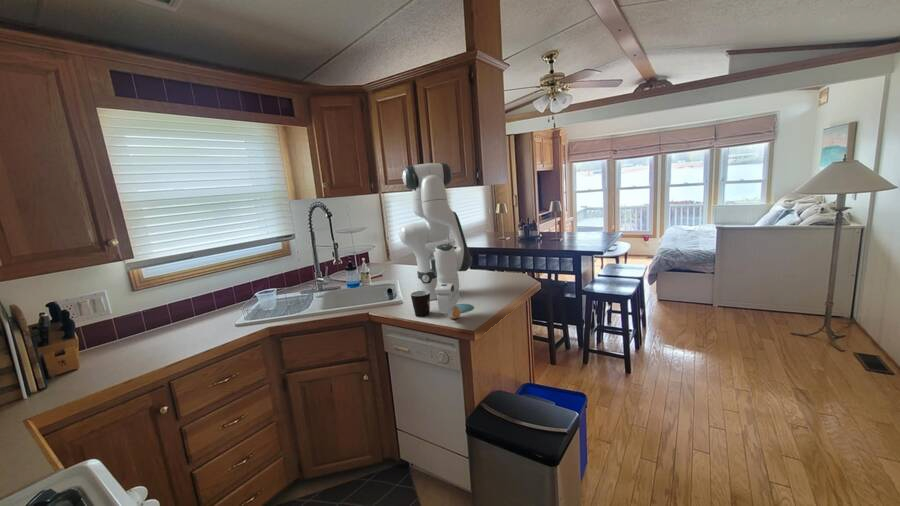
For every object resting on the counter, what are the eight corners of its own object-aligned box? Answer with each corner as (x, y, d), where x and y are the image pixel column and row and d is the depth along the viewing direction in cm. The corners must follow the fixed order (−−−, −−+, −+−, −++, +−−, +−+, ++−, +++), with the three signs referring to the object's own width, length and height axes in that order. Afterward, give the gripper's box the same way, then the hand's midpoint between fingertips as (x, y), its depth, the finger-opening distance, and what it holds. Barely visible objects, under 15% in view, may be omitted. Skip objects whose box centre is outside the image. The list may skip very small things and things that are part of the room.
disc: (451, 304, 175) (451, 303, 175) (475, 304, 172) (475, 303, 172) (444, 312, 163) (444, 312, 163) (470, 312, 160) (470, 312, 160)
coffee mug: (423, 319, 158) (421, 296, 156) (408, 316, 163) (406, 294, 161) (440, 310, 167) (438, 289, 165) (425, 308, 172) (423, 288, 170)
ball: (447, 321, 155) (449, 311, 159) (460, 321, 154) (461, 312, 158) (445, 312, 151) (447, 302, 156) (458, 313, 150) (460, 303, 155)
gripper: (447, 278, 160) (450, 309, 162) (433, 290, 140) (437, 325, 142) (461, 278, 158) (464, 309, 160) (449, 290, 139) (452, 325, 140)
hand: (451, 316), depth 151 cm, fingers closed
